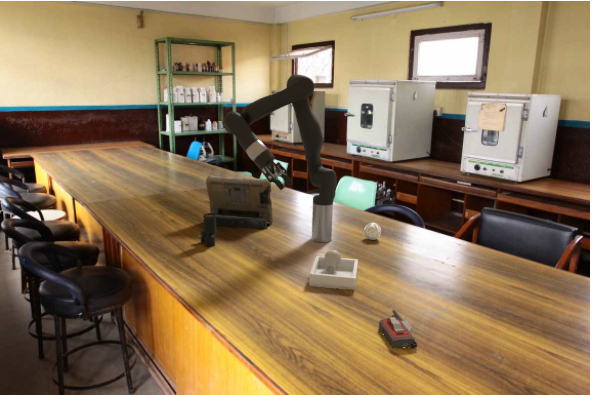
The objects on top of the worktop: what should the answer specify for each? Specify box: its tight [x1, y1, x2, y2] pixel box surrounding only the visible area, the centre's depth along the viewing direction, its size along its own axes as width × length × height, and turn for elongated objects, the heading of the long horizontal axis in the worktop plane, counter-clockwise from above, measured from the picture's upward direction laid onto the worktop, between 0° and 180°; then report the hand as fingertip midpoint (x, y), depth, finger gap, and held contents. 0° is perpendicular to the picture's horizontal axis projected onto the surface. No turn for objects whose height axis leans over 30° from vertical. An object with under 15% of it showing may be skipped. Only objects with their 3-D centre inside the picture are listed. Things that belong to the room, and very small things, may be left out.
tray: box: [308, 255, 359, 291], centre depth 166 cm, size 18×16×4 cm
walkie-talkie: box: [378, 309, 418, 349], centre depth 131 cm, size 9×4×20 cm
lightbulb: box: [324, 249, 342, 275], centre depth 169 cm, size 6×6×11 cm
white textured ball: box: [363, 222, 382, 241], centre depth 210 cm, size 8×8×8 cm
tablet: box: [205, 174, 274, 229], centre depth 226 cm, size 33×14×25 cm, turn 85°
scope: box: [197, 212, 218, 248], centre depth 197 cm, size 8×14×10 cm
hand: (287, 186), depth 174 cm, fingers open, 8 cm apart
